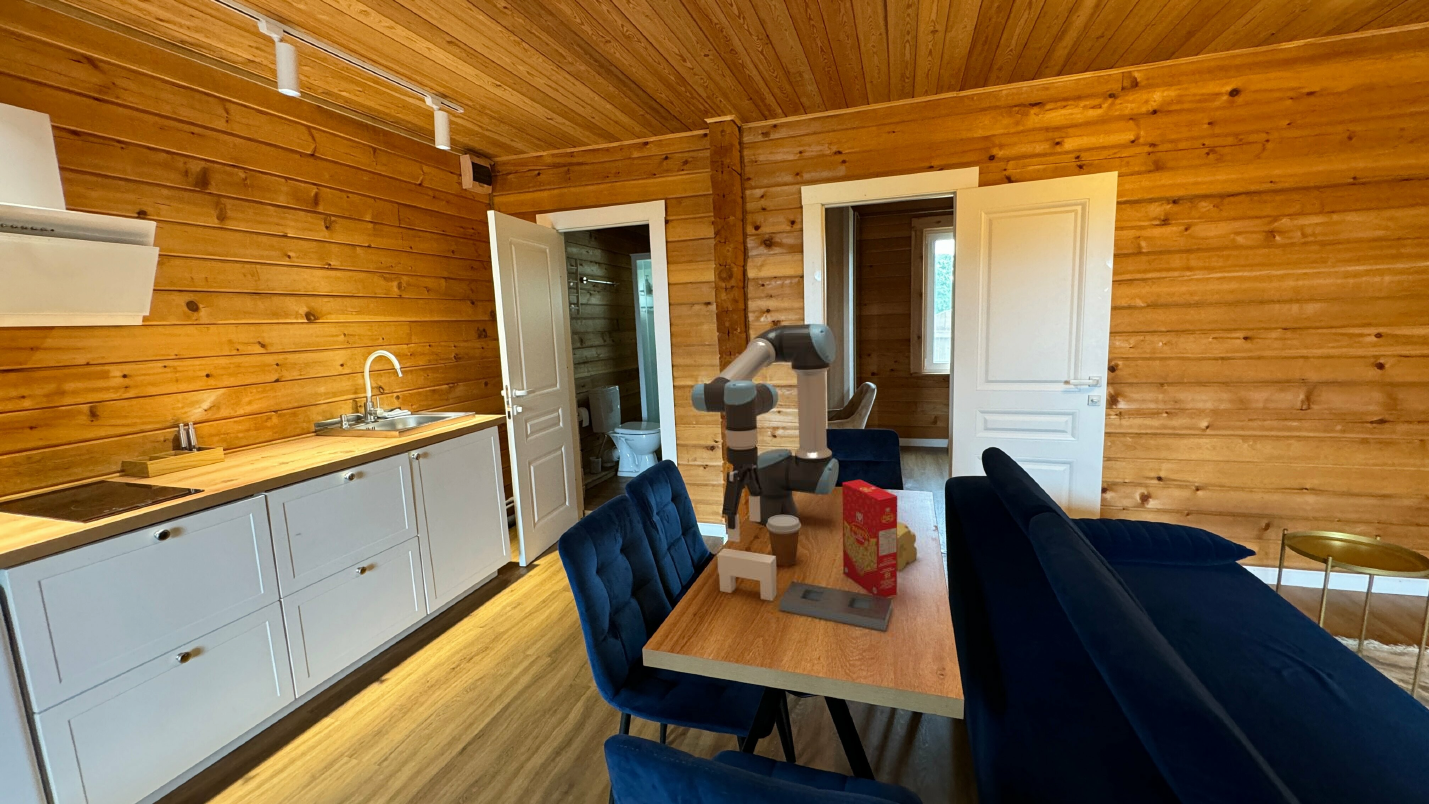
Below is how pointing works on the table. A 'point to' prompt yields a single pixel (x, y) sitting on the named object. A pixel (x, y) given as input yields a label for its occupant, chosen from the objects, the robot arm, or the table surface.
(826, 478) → the robot arm
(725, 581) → the white block
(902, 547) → the cheese
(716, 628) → the table surface
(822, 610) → the grey flat rectangular block
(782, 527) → the disposable coffee cup
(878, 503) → the food packaging
